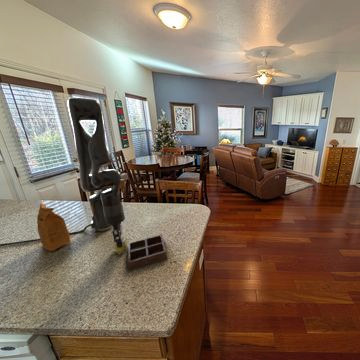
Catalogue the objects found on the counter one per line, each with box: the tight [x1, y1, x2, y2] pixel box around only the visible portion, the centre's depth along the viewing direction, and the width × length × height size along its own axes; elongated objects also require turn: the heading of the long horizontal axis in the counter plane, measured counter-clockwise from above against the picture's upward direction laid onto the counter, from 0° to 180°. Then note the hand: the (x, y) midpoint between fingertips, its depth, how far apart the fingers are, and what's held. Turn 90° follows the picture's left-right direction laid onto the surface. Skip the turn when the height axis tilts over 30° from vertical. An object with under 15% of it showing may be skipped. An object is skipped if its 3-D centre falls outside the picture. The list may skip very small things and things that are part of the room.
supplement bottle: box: [113, 233, 128, 255], centre depth 92 cm, size 5×5×8 cm
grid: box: [127, 234, 168, 271], centre depth 90 cm, size 16×16×4 cm
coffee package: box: [36, 203, 72, 252], centre depth 94 cm, size 10×12×22 cm
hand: (120, 242), depth 91 cm, fingers open, 7 cm apart
